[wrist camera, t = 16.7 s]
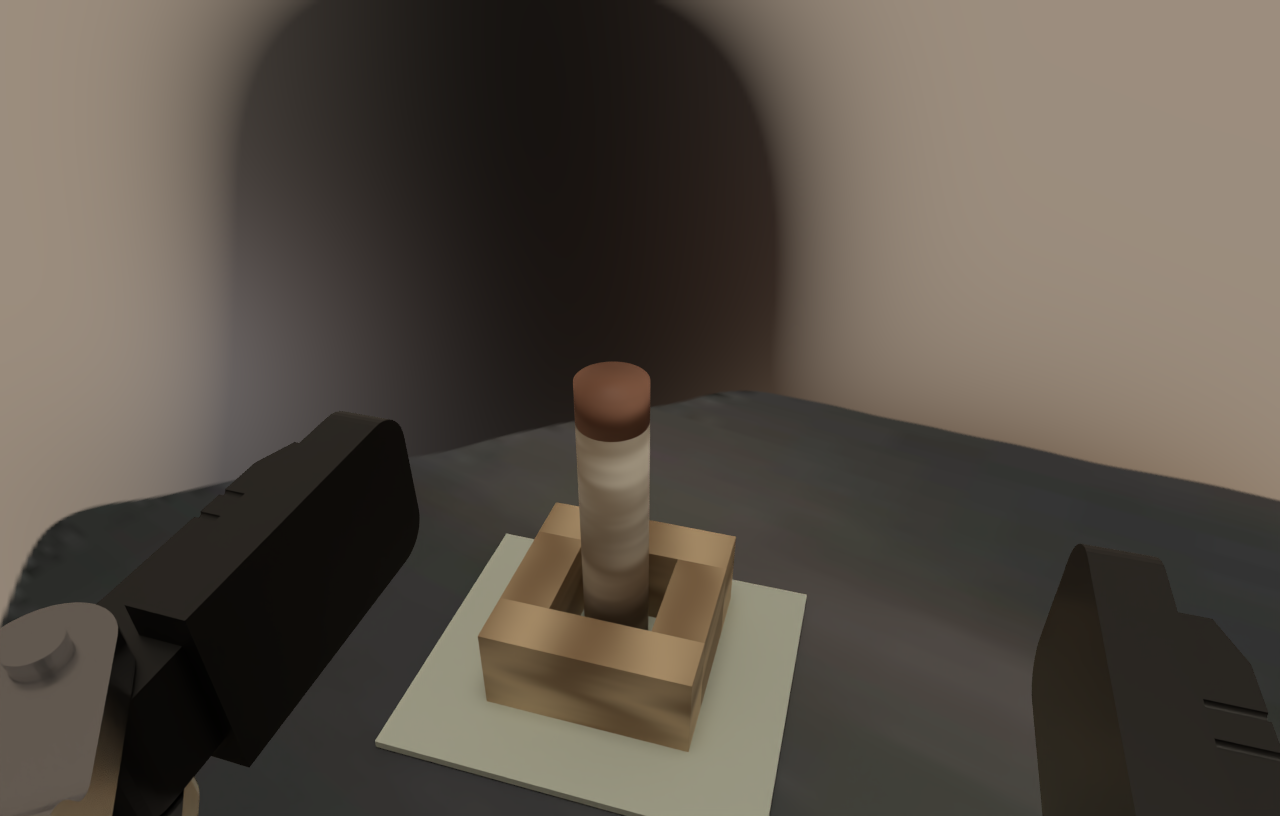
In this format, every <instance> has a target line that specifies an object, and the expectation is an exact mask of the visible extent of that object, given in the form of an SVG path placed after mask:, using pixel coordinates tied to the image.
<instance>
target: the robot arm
mask: <svg viewBox="0 0 1280 816" xmlns="http://www.w3.org/2000/svg"><path fill="white" fill-rule="evenodd" d="M418 530H419V508H418V503H417V499H416V494H415V489H414V484H413V479H412V474H411V469H410V464H409V459H408V454H407V449H406V444H405V439H404V435H403V431H402V429H401V427H400V426H399V424H398V423H397V422H395V421H393V420H389V419H384V418H378V417H372V416H366V415H360V414H355V413H349V412H343V411H339V412H335V413H333V414H331V415H330V416H329V417H327V418H326V419H325V420H324V421H323V422H322V423H321V424H320V425H318V426H317V427H316V428H315V429H314V430H313V431H312V432H311V433H310V434H309V435H308V436H307V437H306V438H304V439H303V440H302V441H301V442H300V443H296V442H294V443H292V444H290V445H288V446H287V447H284V448H282V449H281V450H279V451H277V452H275V453H273V454H271V455H269V456H267V457H265V458H263V459H261V460H260V461H257V462H256V463H254V464H253V465H252V466H251V467H250V468H249V469H247V471H245V472H244V473H243V474H242V475H241V476H240V477H239V478H237V479H236V480H235V481H234V482H233V483H232V484H231V485H230V486H228V487H227V488H226V489H225V494H224V495H218V496H217V497H216V498H215V499H214V500H213V501H212V502H211V503H209V504H208V505H207V506H206V507H205V508H204V509H203V510H202V511H201V515H200V517H199V518H197V517H194V518H193V519H192V520H190V521H189V522H188V523H187V524H186V525H185V526H184V527H183V528H181V529H180V530H179V531H178V532H177V533H176V534H175V535H174V536H172V537H171V538H170V539H169V540H168V541H167V542H166V543H165V544H164V545H162V546H161V547H160V548H159V549H158V550H157V551H156V552H155V553H153V554H152V555H151V556H150V557H149V558H148V559H147V560H146V561H144V562H143V563H142V564H141V565H140V566H139V567H138V568H137V569H136V570H134V571H133V572H132V573H131V574H130V575H129V576H128V577H127V578H125V579H124V580H123V581H122V582H121V583H120V584H119V585H118V586H116V587H115V588H114V589H113V590H112V591H111V592H110V593H109V594H108V595H106V596H105V597H104V598H103V599H102V600H101V601H99V602H98V603H97V604H96V605H95V604H91V603H79V602H77V603H65V604H59V605H54V606H50V607H46V608H43V609H39V610H37V611H34V612H31V613H29V614H26V615H24V616H22V617H20V618H18V619H16V620H14V621H12V622H10V623H8V624H7V625H5V626H3V627H2V628H0V816H198V807H199V786H198V783H197V780H196V778H195V775H196V774H197V772H198V771H199V770H200V769H201V767H202V766H203V765H204V764H205V763H206V761H207V760H208V759H209V758H210V756H213V757H216V758H220V759H223V760H226V761H230V762H233V763H236V764H239V765H243V766H246V767H250V766H251V765H252V763H253V762H254V761H255V759H256V758H257V757H258V755H259V754H260V753H261V751H262V750H263V749H264V747H265V746H266V745H267V744H268V742H269V741H270V740H271V738H272V737H273V736H274V734H275V733H276V732H277V730H278V729H279V728H280V726H281V725H282V724H283V722H284V721H285V720H286V718H287V717H288V716H289V715H290V713H291V712H292V711H293V709H294V708H295V707H296V705H297V704H298V703H299V701H300V700H301V699H302V697H303V696H304V695H305V693H306V692H307V691H308V689H309V688H310V687H311V686H312V684H313V683H314V682H315V680H316V679H317V678H318V676H319V675H320V674H321V672H322V671H323V670H324V668H325V667H326V666H327V664H328V663H329V662H330V660H331V659H332V658H333V656H334V655H335V654H336V653H337V651H338V650H339V649H340V647H341V646H342V645H343V643H344V642H345V641H346V639H347V638H348V637H349V635H350V634H351V633H352V631H353V630H354V629H355V627H356V626H357V625H358V624H359V622H360V621H361V620H362V618H363V617H364V616H365V614H366V613H367V612H368V610H369V609H370V608H371V606H372V605H373V604H374V602H375V601H376V600H377V598H378V597H379V596H380V595H381V593H382V592H383V591H384V589H385V588H386V587H387V585H388V584H389V583H390V581H391V580H392V579H393V577H394V576H395V575H396V573H397V572H398V571H399V569H400V568H401V567H402V566H403V564H404V563H405V562H406V560H407V559H408V557H409V555H410V554H411V552H412V550H413V547H414V545H415V542H416V539H417V535H418ZM1032 704H1033V715H1034V726H1035V737H1036V748H1037V759H1038V770H1039V781H1040V792H1041V803H1042V814H1043V816H1280V744H1279V741H1278V738H1277V736H1276V733H1275V730H1274V727H1273V724H1272V722H1268V721H1267V715H1268V711H1267V708H1266V705H1265V702H1264V699H1263V697H1262V694H1261V691H1260V688H1259V686H1258V683H1257V680H1256V677H1255V674H1254V672H1253V669H1252V666H1251V664H1250V663H1249V662H1248V660H1247V659H1246V658H1245V657H1244V656H1243V655H1242V653H1241V652H1240V651H1239V650H1238V649H1237V647H1236V646H1235V645H1234V644H1233V643H1232V642H1231V640H1230V639H1229V638H1228V637H1227V636H1226V635H1225V633H1224V632H1223V631H1222V630H1221V629H1220V627H1219V626H1218V625H1217V624H1216V623H1215V622H1214V620H1213V619H1210V618H1204V617H1199V616H1194V615H1189V614H1183V613H1178V612H1177V608H1176V605H1175V601H1174V598H1173V594H1172V591H1171V587H1170V584H1169V581H1168V577H1167V574H1166V570H1165V568H1164V565H1163V563H1162V561H1161V560H1160V559H1159V558H1157V557H1153V556H1147V555H1141V554H1136V553H1130V552H1124V551H1119V550H1113V549H1107V548H1102V547H1096V546H1090V545H1085V544H1078V545H1076V546H1075V548H1074V549H1073V551H1072V552H1071V554H1070V557H1069V559H1068V562H1067V565H1066V567H1065V570H1064V573H1063V576H1062V579H1061V581H1060V584H1059V587H1058V590H1057V592H1056V595H1055V598H1054V601H1053V603H1052V606H1051V609H1050V612H1049V615H1048V617H1047V620H1046V623H1045V626H1044V628H1043V631H1042V634H1041V637H1040V640H1039V643H1038V646H1037V650H1036V655H1035V660H1034V667H1033V677H1032Z"/></svg>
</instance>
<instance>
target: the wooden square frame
mask: <svg viewBox="0 0 1280 816" xmlns="http://www.w3.org/2000/svg"><path fill="white" fill-rule="evenodd" d="M735 541H736V537H734V536H729V535H724V534H719V533H713V532H708V531H703V530H698V529H692V528H687V527H682V526H677V525H671V524H666V523H661V522H656V521H651V520H649V612H648V616H650V617H655V618H656V620H655V623H654V625H653V628H652V631H647V630H643V629H638V628H634V627H629V626H625V625H620V624H616V623H611V622H607V621H602V620H598V619H593V618H589V617H584V616H581V614H582V612H583V610H584V594H583V574H582V553H581V533H580V512H579V507H577V506H572V505H567V504H562V503H556V504H555V505H554V507H553V509H552V510H551V512H550V514H549V516H548V517H547V519H546V521H545V522H544V524H543V526H542V528H541V529H540V531H539V533H538V534H537V536H536V538H535V539H534V541H533V543H532V545H531V546H530V548H529V550H528V551H527V553H526V555H525V556H524V558H523V560H522V562H521V563H520V565H519V567H518V568H517V570H516V572H515V573H514V575H513V577H512V579H511V580H510V582H509V584H508V585H507V587H506V589H505V590H504V592H503V594H502V596H501V597H500V599H499V601H498V602H497V604H496V606H495V607H494V609H493V611H492V613H491V614H490V616H489V618H488V619H487V621H486V623H485V624H484V626H483V628H482V630H481V631H480V633H479V635H478V642H479V650H480V657H481V664H482V671H483V678H484V685H485V692H486V699H487V701H488V702H492V703H496V704H500V705H504V706H508V707H512V708H516V709H520V710H524V711H528V712H532V713H536V714H540V715H544V716H548V717H551V718H555V719H559V720H563V721H567V722H571V723H575V724H579V725H583V726H587V727H591V728H595V729H599V730H603V731H607V732H611V733H614V734H618V735H622V736H626V737H630V738H634V739H638V740H642V741H646V742H650V743H654V744H658V745H662V746H666V747H670V748H674V749H678V750H681V751H685V752H689V748H690V745H691V741H692V737H693V734H694V730H695V726H696V723H697V719H698V715H699V712H700V708H701V705H702V701H703V697H704V694H705V690H706V686H707V683H708V679H709V675H710V672H711V668H712V664H713V661H714V657H715V654H716V650H717V646H718V643H719V639H720V635H721V632H722V628H723V624H724V621H725V617H726V614H727V610H728V606H729V603H730V599H731V588H732V576H733V564H734V552H735Z"/></svg>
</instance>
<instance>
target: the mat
mask: <svg viewBox="0 0 1280 816" xmlns="http://www.w3.org/2000/svg"><path fill="white" fill-rule="evenodd" d="M533 541H534V539H530V538H525V537H520V536H515V535H510V534H506V535H505V537H504V539H503V540H502V542H501V543H500V545H499V546H498V548H497V550H496V551H495V553H494V554H493V556H492V557H491V559H490V561H489V562H488V564H487V565H486V567H485V568H484V570H483V572H482V573H481V575H480V576H479V578H478V580H477V581H476V583H475V584H474V586H473V587H472V589H471V591H470V592H469V594H468V595H467V597H466V598H465V600H464V602H463V603H462V605H461V606H460V608H459V609H458V611H457V613H456V614H455V616H454V617H453V619H452V621H451V622H450V624H449V625H448V627H447V628H446V630H445V632H444V633H443V635H442V636H441V638H440V639H439V641H438V643H437V644H436V646H435V647H434V649H433V650H432V652H431V654H430V655H429V657H428V658H427V660H426V661H425V663H424V665H423V666H422V668H421V669H420V671H419V673H418V674H417V676H416V677H415V679H414V680H413V682H412V684H411V685H410V687H409V688H408V690H407V691H406V693H405V695H404V696H403V698H402V699H401V701H400V702H399V704H398V706H397V707H396V709H395V710H394V712H393V714H392V715H391V717H390V718H389V720H388V721H387V723H386V725H385V726H384V728H383V729H382V731H381V732H380V734H379V736H378V737H377V739H376V740H375V744H376V747H379V748H383V749H386V750H390V751H393V752H397V753H401V754H404V755H408V756H412V757H415V758H419V759H422V760H426V761H430V762H433V763H437V764H440V765H444V766H448V767H451V768H455V769H459V770H462V771H466V772H469V773H473V774H477V775H480V776H484V777H488V778H491V779H495V780H498V781H502V782H506V783H509V784H513V785H516V786H520V787H524V788H527V789H531V790H535V791H538V792H542V793H545V794H549V795H553V796H556V797H560V798H564V799H567V800H571V801H574V802H578V803H582V804H585V805H589V806H592V807H596V808H600V809H603V810H607V811H611V812H614V813H618V814H621V815H625V816H769V812H770V807H771V801H772V795H773V789H774V783H775V778H776V772H777V766H778V760H779V754H780V749H781V743H782V737H783V731H784V725H785V719H786V714H787V708H788V702H789V696H790V690H791V685H792V679H793V673H794V667H795V661H796V656H797V650H798V644H799V638H800V632H801V627H802V621H803V615H804V609H805V603H806V597H807V595H805V594H800V593H796V592H791V591H786V590H781V589H776V588H771V587H766V586H761V585H756V584H751V583H746V582H741V581H737V580H732V588H731V599H730V603H729V606H728V610H727V614H726V617H725V621H724V624H723V628H722V632H721V635H720V639H719V643H718V646H717V650H716V654H715V657H714V661H713V664H712V668H711V672H710V675H709V679H708V683H707V686H706V690H705V694H704V697H703V701H702V705H701V708H700V712H699V715H698V719H697V723H696V726H695V730H694V734H693V737H692V741H691V745H690V748H689V752H685V751H681V750H678V749H674V748H670V747H666V746H662V745H658V744H654V743H650V742H646V741H642V740H638V739H634V738H630V737H626V736H622V735H618V734H614V733H611V732H607V731H603V730H599V729H595V728H591V727H587V726H583V725H579V724H575V723H571V722H567V721H563V720H559V719H555V718H551V717H548V716H544V715H540V714H536V713H532V712H528V711H524V710H520V709H516V708H512V707H508V706H504V705H500V704H496V703H492V702H488V701H487V699H486V692H485V685H484V678H483V671H482V664H481V657H480V650H479V642H478V635H479V633H480V631H481V630H482V628H483V626H484V624H485V623H486V621H487V619H488V618H489V616H490V614H491V613H492V611H493V609H494V607H495V606H496V604H497V602H498V601H499V599H500V597H501V596H502V594H503V592H504V590H505V589H506V587H507V585H508V584H509V582H510V580H511V579H512V577H513V575H514V573H515V572H516V570H517V568H518V567H519V565H520V563H521V562H522V560H523V558H524V556H525V555H526V553H527V551H528V550H529V548H530V546H531V545H532V543H533ZM581 616H584V617H585V615H584V610H583V612H582V614H581ZM655 620H656V618H655V617H650V616H648V631H652V628H653V625H654V623H655Z"/></svg>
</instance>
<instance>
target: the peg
mask: <svg viewBox="0 0 1280 816" xmlns="http://www.w3.org/2000/svg"><path fill="white" fill-rule="evenodd" d="M573 389H574V410H575V430H576V451H577V471H578V492H579V512H580V533H581V553H582V574H583V594H584V615H585V617H589V618H593V619H598V620H602V621H607V622H611V623H616V624H620V625H625V626H629V627H634V628H638V629H643V630H647V631H648V612H649V479H650V377H649V375H648V374H647V373H646V371H644V370H643V369H641V368H640V367H638V366H635V365H632V364H629V363H623V362H602V363H597V364H593V365H590V366H588V367H585V368H583V369H582V370H580V371H579V372H578V373H577V374H576V375H575V377H574V380H573Z"/></svg>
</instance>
